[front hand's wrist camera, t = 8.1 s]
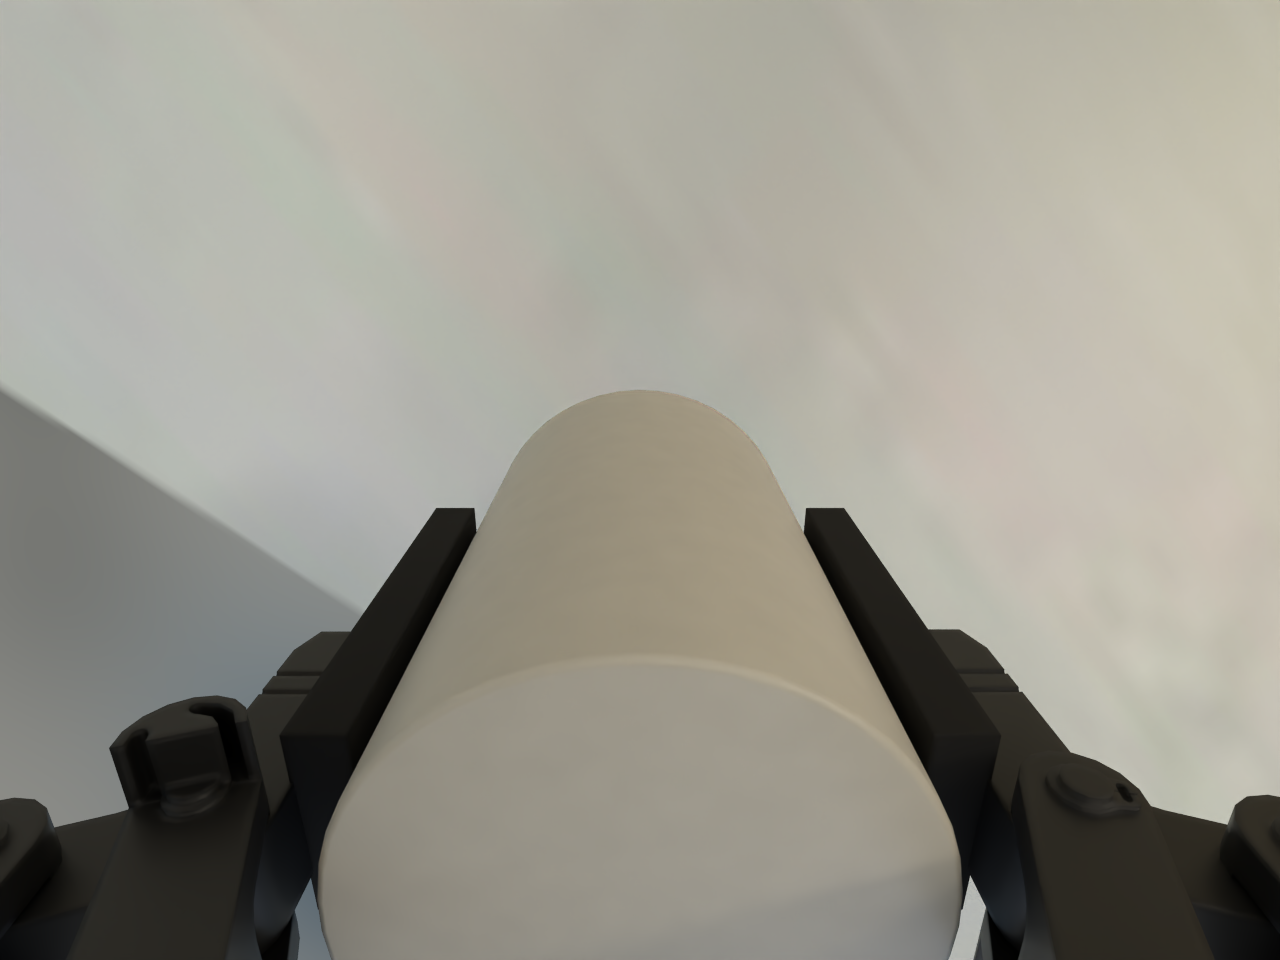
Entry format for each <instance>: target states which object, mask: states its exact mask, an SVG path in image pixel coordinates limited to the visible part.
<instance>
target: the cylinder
mask: <svg viewBox="0 0 1280 960" xmlns="http://www.w3.org/2000/svg"><path fill="white" fill-rule="evenodd" d="M962 897H963V888H962V873H961V858H960V854H959V850H958V846H957V842H956V838H955V834H954V830H953V827H952V824H951V822H950V820H949V818H948V816H947V813H946V811H945V809H944V807H943V805H942V803H941V800H940V798H939V796H938V794H937V792H936V790H935V788H934V786H933V784H932V782H931V780H930V778H929V777H928V775H927V773H926V771H925V769H924V767H923V765H922V763H921V761H920V759H919V757H918V755H917V753H916V751H915V749H914V747H913V745H912V743H911V741H910V740H909V738H908V736H907V734H906V732H905V730H904V728H903V726H902V724H901V722H900V720H899V718H898V716H897V714H896V712H895V710H894V708H893V706H892V704H891V702H890V701H889V699H888V697H887V695H886V693H885V691H884V689H883V687H882V685H881V683H880V681H879V679H878V677H877V675H876V673H875V671H874V669H873V667H872V665H871V663H870V662H869V660H868V658H867V656H866V654H865V652H864V650H863V648H862V646H861V644H860V642H859V640H858V638H857V636H856V634H855V632H854V630H853V628H852V626H851V625H850V623H849V621H848V619H847V617H846V615H845V613H844V611H843V609H842V607H841V605H840V603H839V601H838V599H837V597H836V595H835V593H834V591H833V589H832V587H831V586H830V584H829V582H828V580H827V578H826V576H825V574H824V572H823V570H822V568H821V566H820V564H819V562H818V560H817V558H816V556H815V554H814V552H813V550H812V549H811V547H810V545H809V543H808V541H807V539H806V537H805V535H804V533H803V531H802V529H801V527H800V525H799V523H798V521H797V519H796V517H795V515H794V513H793V511H792V510H791V508H790V506H789V504H788V502H787V500H786V498H785V496H784V494H783V492H782V490H781V488H780V486H779V484H778V482H777V480H776V478H775V476H774V474H773V473H772V471H771V469H770V467H769V465H768V463H767V461H766V459H765V458H764V456H763V455H762V453H761V452H760V450H759V449H758V447H757V446H756V444H755V443H754V442H753V441H752V440H751V439H750V438H749V437H748V435H747V434H746V433H745V432H744V431H743V430H742V429H741V428H739V427H738V426H737V425H736V424H735V423H734V422H732V421H731V420H730V419H729V418H727V417H725V416H724V415H722V414H721V413H719V412H718V411H716V410H715V409H713V408H711V407H709V406H706V405H704V404H702V403H700V402H698V401H696V400H692V399H689V398H686V397H683V396H680V395H676V394H671V393H666V392H660V391H646V390H633V391H619V392H614V393H609V394H604V395H599V396H596V397H593V398H591V399H588V400H585V401H582V402H579V403H577V404H575V405H574V406H572V407H570V408H568V409H566V410H564V411H562V412H560V413H559V414H558V415H556V416H555V417H553V418H552V419H550V420H549V421H547V422H546V423H545V424H544V425H543V426H542V427H541V428H540V429H538V430H537V431H536V432H535V433H534V434H533V435H532V436H531V437H530V439H529V440H528V441H527V442H526V443H525V445H524V446H523V447H522V448H521V450H520V451H519V453H518V455H517V456H516V458H515V459H514V461H513V463H512V464H511V466H510V468H509V470H508V472H507V474H506V476H505V478H504V480H503V482H502V484H501V486H500V488H499V490H498V492H497V494H496V496H495V498H494V499H493V501H492V503H491V505H490V507H489V509H488V511H487V513H486V515H485V517H484V519H483V521H482V523H481V525H480V527H479V529H478V531H477V533H476V535H475V536H474V538H473V540H472V542H471V544H470V546H469V548H468V550H467V552H466V554H465V556H464V558H463V560H462V562H461V564H460V566H459V568H458V570H457V571H456V573H455V575H454V577H453V579H452V581H451V583H450V585H449V587H448V589H447V591H446V593H445V595H444V597H443V599H442V601H441V603H440V605H439V607H438V608H437V610H436V612H435V614H434V616H433V618H432V620H431V622H430V624H429V626H428V628H427V630H426V632H425V634H424V636H423V638H422V640H421V642H420V643H419V645H418V647H417V649H416V651H415V653H414V655H413V657H412V659H411V661H410V663H409V665H408V667H407V669H406V671H405V673H404V675H403V677H402V679H401V680H400V682H399V684H398V686H397V688H396V690H395V692H394V694H393V696H392V698H391V700H390V702H389V704H388V706H387V708H386V710H385V712H384V714H383V715H382V717H381V719H380V721H379V723H378V725H377V727H376V729H375V731H374V733H373V735H372V737H371V739H370V741H369V743H368V745H367V747H366V749H365V751H364V752H363V754H362V756H361V758H360V760H359V762H358V764H357V766H356V768H355V770H354V772H353V774H352V776H351V778H350V780H349V782H348V784H347V786H346V787H345V789H344V791H343V793H342V795H341V797H340V799H339V801H338V804H337V806H336V808H335V811H334V813H333V815H332V818H331V820H330V822H329V825H328V827H327V829H326V832H325V836H324V841H323V845H322V850H321V854H320V859H319V865H318V893H317V901H318V908H319V914H320V922H321V928H322V932H323V936H324V938H325V942H326V945H327V948H328V951H329V953H330V957H331V960H948V959H949V957H950V954H951V951H952V948H953V944H954V941H955V938H956V934H957V931H958V928H959V922H960V914H961V905H962Z"/></svg>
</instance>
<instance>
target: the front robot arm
mask: <svg viewBox="0 0 1280 960" xmlns="http://www.w3.org/2000/svg"><path fill="white" fill-rule="evenodd" d="M476 533H477V532H476V521H475V510H474V508H436V509H435V511H434V512H433V514H432V515H431V517H430V518H429V520H428V521H427V522H426V524H425V525H424V527H423V528H422V530H421V531H420V533H419V534H418V535H417V537H416V538H415V540H414V541H413V543H412V544H411V546H410V547H409V548H408V550H407V551H406V553H405V554H404V556H403V557H402V559H401V560H400V561H399V563H398V564H397V566H396V567H395V569H394V570H393V572H392V573H391V574H390V576H389V577H388V579H387V580H386V582H385V583H384V585H383V586H382V587H381V589H380V590H379V592H378V593H377V595H376V596H375V598H374V599H373V600H372V602H371V603H370V605H369V606H368V608H367V609H366V611H365V612H364V613H363V615H362V616H361V618H360V619H359V621H358V622H357V624H356V625H355V627H354V628H353V629H352V631H351V632H320V633H319V634H317V635H316V636H314V637H313V638H311V639H310V640H308V641H307V642H305V643H304V644H302V645H301V646H299V647H298V648H296V649H295V650H294V651H293V652H292V653H291V655H290V656H289V657H288V658H287V660H286V661H285V662H284V663H283V665H282V666H281V667H280V668H279V670H278V671H277V675H276V676H273V677H272V678H271V680H270V681H269V682H268V684H267V685H266V686H265V687H264V689H263V693H262V694H259V695H258V696H257V697H256V699H255V700H254V701H253V702H252V704H251V705H250V706H249V708H248V709H247V710H246V707H245V706H243V705H242V704H241V703H240V702H238V701H237V700H236V699H233V698H227V697H222V696H205V697H194V698H190V699H187V700H183V701H179V702H176V703H172V704H169V705H166V706H164V707H162V708H160V709H158V710H156V711H154V712H152V713H149V714H147V715H145V716H143V717H142V718H140V719H139V720H138V721H136V722H135V723H133V724H132V725H131V726H129V727H128V728H127V729H125V730H124V731H122V733H121V734H120V735H119V736H118V738H117V739H116V740H115V741H114V743H113V744H112V745H111V746H110V748H109V749H110V752H111V755H112V758H113V761H114V764H115V767H116V770H117V773H118V776H119V779H120V782H121V785H122V788H123V791H124V794H125V797H126V800H127V803H128V806H129V809H128V810H125V811H122V812H119V813H115V814H111V815H106V816H102V817H98V818H94V819H89V820H85V821H80V822H76V823H72V824H67V825H63V826H59V827H55V828H54V826H53V823H52V821H51V818H50V815H49V813H48V810H47V808H46V807H45V806H43V805H42V804H40V803H39V802H38V801H36V800H35V799H23V798H10V799H5V800H0V960H297V959H298V949H299V940H300V937H299V930H298V923H297V918H296V914H295V908H296V906H297V904H298V902H299V900H300V898H301V896H302V894H303V892H304V890H305V888H306V886H307V884H308V882H309V880H310V878H311V880H312V884H313V889H314V893H315V898H316V902H317V907H318V901H317V893H318V865H319V859H320V854H321V850H322V845H323V841H324V836H325V832H326V829H327V827H328V825H329V822H330V820H331V818H332V815H333V813H334V811H335V808H336V806H337V804H338V801H339V799H340V797H341V795H342V793H343V791H344V789H345V787H346V786H347V784H348V782H349V780H350V778H351V776H352V774H353V772H354V770H355V768H356V766H357V764H358V762H359V760H360V758H361V756H362V754H363V752H364V751H365V749H366V747H367V745H368V743H369V741H370V739H371V737H372V735H373V733H374V731H375V729H376V727H377V725H378V723H379V721H380V719H381V717H382V715H383V714H384V712H385V710H386V708H387V706H388V704H389V702H390V700H391V698H392V696H393V694H394V692H395V690H396V688H397V686H398V684H399V682H400V680H401V679H402V677H403V675H404V673H405V671H406V669H407V667H408V665H409V663H410V661H411V659H412V657H413V655H414V653H415V651H416V649H417V647H418V645H419V643H420V642H421V640H422V638H423V636H424V634H425V632H426V630H427V628H428V626H429V624H430V622H431V620H432V618H433V616H434V614H435V612H436V610H437V608H438V607H439V605H440V603H441V601H442V599H443V597H444V595H445V593H446V591H447V589H448V587H449V585H450V583H451V581H452V579H453V577H454V575H455V573H456V571H457V570H458V568H459V566H460V564H461V562H462V560H463V558H464V556H465V554H466V552H467V550H468V548H469V546H470V544H471V542H472V540H473V538H474V536H475V535H476ZM804 535H805V537H806V539H807V541H808V543H809V545H810V547H811V549H812V550H813V552H814V554H815V556H816V558H817V560H818V562H819V564H820V566H821V568H822V570H823V572H824V574H825V576H826V578H827V580H828V582H829V584H830V586H831V587H832V589H833V591H834V593H835V595H836V597H837V599H838V601H839V603H840V605H841V607H842V609H843V611H844V613H845V615H846V617H847V619H848V621H849V623H850V625H851V626H852V628H853V630H854V632H855V634H856V636H857V638H858V640H859V642H860V644H861V646H862V648H863V650H864V652H865V654H866V656H867V658H868V660H869V662H870V663H871V665H872V667H873V669H874V671H875V673H876V675H877V677H878V679H879V681H880V683H881V685H882V687H883V689H884V691H885V693H886V695H887V697H888V699H889V701H890V702H891V704H892V706H893V708H894V710H895V712H896V714H897V716H898V718H899V720H900V722H901V724H902V726H903V728H904V730H905V732H906V734H907V736H908V738H909V740H910V741H911V743H912V745H913V747H914V749H915V751H916V753H917V755H918V757H919V759H920V761H921V763H922V765H923V767H924V769H925V771H926V773H927V775H928V777H929V778H930V780H931V782H932V784H933V786H934V788H935V790H936V792H937V794H938V796H939V798H940V800H941V803H942V805H943V807H944V809H945V811H946V813H947V816H948V818H949V820H950V822H951V824H952V827H953V830H954V834H955V838H956V842H957V846H958V850H959V854H960V858H961V873H962V888H963V897H962V905H961V910H962V909H963V905H964V900H965V896H966V891H967V887H968V882H969V878H970V876H971V878H972V880H973V882H974V884H975V886H976V888H977V890H978V892H979V894H980V896H981V898H982V900H983V902H984V904H985V906H986V910H985V914H984V918H983V922H982V927H981V931H980V935H979V939H978V943H977V947H976V952H975V956H974V960H1280V797H1277V796H1271V795H1260V796H1248V797H1246V798H1244V799H1243V800H1241V801H1240V802H1239V803H1237V804H1236V805H1235V807H1234V810H1233V812H1232V815H1231V817H1230V820H1229V822H1228V825H1226V824H1222V823H1217V822H1213V821H1209V820H1204V819H1200V818H1196V817H1191V816H1187V815H1183V814H1178V813H1174V812H1170V811H1165V810H1162V809H1159V808H1155V807H1152V806H1150V804H1149V803H1148V801H1147V800H1146V798H1145V797H1144V796H1143V794H1142V793H1141V791H1140V790H1139V789H1138V788H1137V787H1136V786H1135V785H1133V784H1132V783H1131V782H1130V781H1129V780H1127V779H1126V778H1125V777H1124V776H1123V775H1121V774H1120V773H1119V772H1117V771H1115V770H1113V769H1111V768H1109V767H1107V766H1105V765H1104V764H1102V763H1100V762H1098V761H1096V760H1093V759H1090V758H1087V757H1084V756H1080V755H1077V754H1074V753H1071V752H1070V751H1069V750H1068V749H1067V747H1066V746H1065V745H1064V744H1063V742H1062V741H1061V740H1060V739H1059V737H1058V736H1057V735H1056V734H1055V732H1054V731H1053V730H1052V729H1051V727H1050V726H1049V725H1048V724H1047V722H1046V721H1045V720H1044V719H1043V717H1042V716H1041V715H1040V714H1039V712H1038V711H1037V710H1036V709H1035V707H1034V706H1033V705H1032V704H1031V702H1030V701H1029V700H1028V699H1027V697H1026V696H1025V695H1024V694H1023V692H1019V690H1018V688H1019V687H1018V686H1017V685H1016V684H1015V682H1014V681H1013V680H1012V679H1011V677H1010V676H1009V675H1008V674H1005V673H1004V669H1003V667H1002V666H1001V665H1000V664H999V662H998V661H997V660H996V659H995V657H994V656H993V655H992V654H991V652H990V651H989V650H988V649H987V648H986V647H985V646H983V645H982V644H980V643H979V642H977V641H976V640H974V639H973V638H971V637H970V636H968V635H967V634H965V633H964V632H962V631H961V630H928V629H927V627H926V626H925V624H924V623H923V621H922V620H921V619H920V617H919V616H918V614H917V613H916V611H915V610H914V608H913V607H912V606H911V604H910V603H909V601H908V600H907V598H906V597H905V595H904V594H903V593H902V591H901V590H900V588H899V587H898V585H897V584H896V582H895V581H894V580H893V578H892V577H891V575H890V574H889V572H888V571H887V569H886V568H885V567H884V565H883V564H882V562H881V561H880V559H879V558H878V556H877V555H876V554H875V552H874V551H873V549H872V548H871V546H870V545H869V543H868V542H867V541H866V539H865V538H864V536H863V535H862V533H861V532H860V530H859V529H858V528H857V526H856V525H855V523H854V522H853V520H852V519H851V517H850V516H849V515H848V513H847V512H846V510H845V509H844V508H806V515H805V526H804ZM318 910H319V908H318Z"/></svg>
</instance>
